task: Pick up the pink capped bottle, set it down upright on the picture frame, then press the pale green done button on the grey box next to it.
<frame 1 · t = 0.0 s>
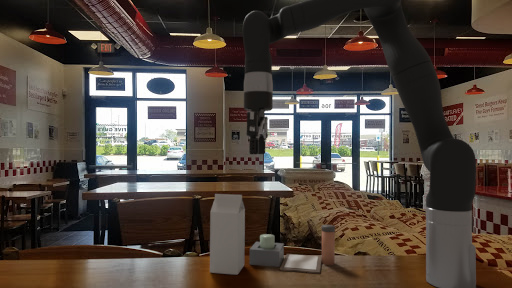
hand: (257, 154, 89), 29 cm above the table, tool pointing down, fingers open, 8 cm apart
button box: (267, 260, 95), on the table
done button: (267, 245, 95), point 4 cm above the table, slide at 0.0 cm
pink capped bottle: (327, 263, 93), on the table
picture frame: (301, 263, 92), on the table
milk carton: (227, 270, 88), on the table
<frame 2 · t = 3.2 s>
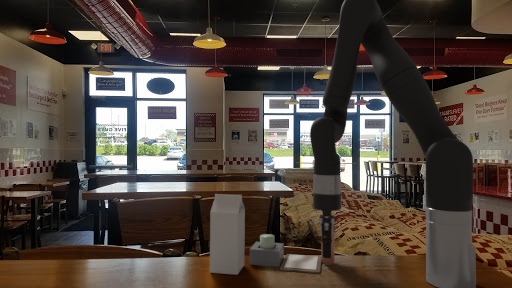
hand: (326, 255, 93), 2 cm above the table, tool pointing down, fingers closed on pink capped bottle, 3 cm apart
pink capped bottle: (327, 263, 93), on the table, touching gripper
everything else where it was.
when the fingers open (3 cm above the table, at t = 7.3 s): pink capped bottle stays where it is, resting on picture frame.
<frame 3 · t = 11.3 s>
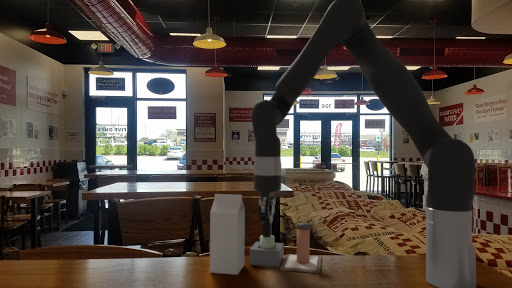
hand: (266, 236, 95), 7 cm above the table, tool pointing down, fingers closed
done button: (267, 245, 95), point 4 cm above the table, slide at 0.1 cm, touching gripper
pink capped bottle: (302, 261, 92), point 1 cm above the table, touching picture frame
everything else where it was.
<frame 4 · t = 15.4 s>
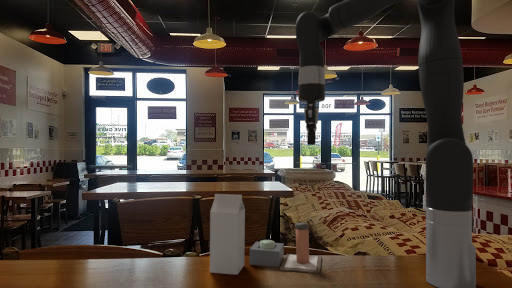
hand: (311, 144, 98), 32 cm above the table, tool pointing down, fingers closed
done button: (267, 250, 95), point 3 cm above the table, slide at 1.6 cm
everything else where it was.
at the end: pink capped bottle inside the target area on the picture frame (0.3 cm from its centre), point 0.7 cm above the picture frame's base; pink capped bottle tilted 2°; done button slide at 1.6 cm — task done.
